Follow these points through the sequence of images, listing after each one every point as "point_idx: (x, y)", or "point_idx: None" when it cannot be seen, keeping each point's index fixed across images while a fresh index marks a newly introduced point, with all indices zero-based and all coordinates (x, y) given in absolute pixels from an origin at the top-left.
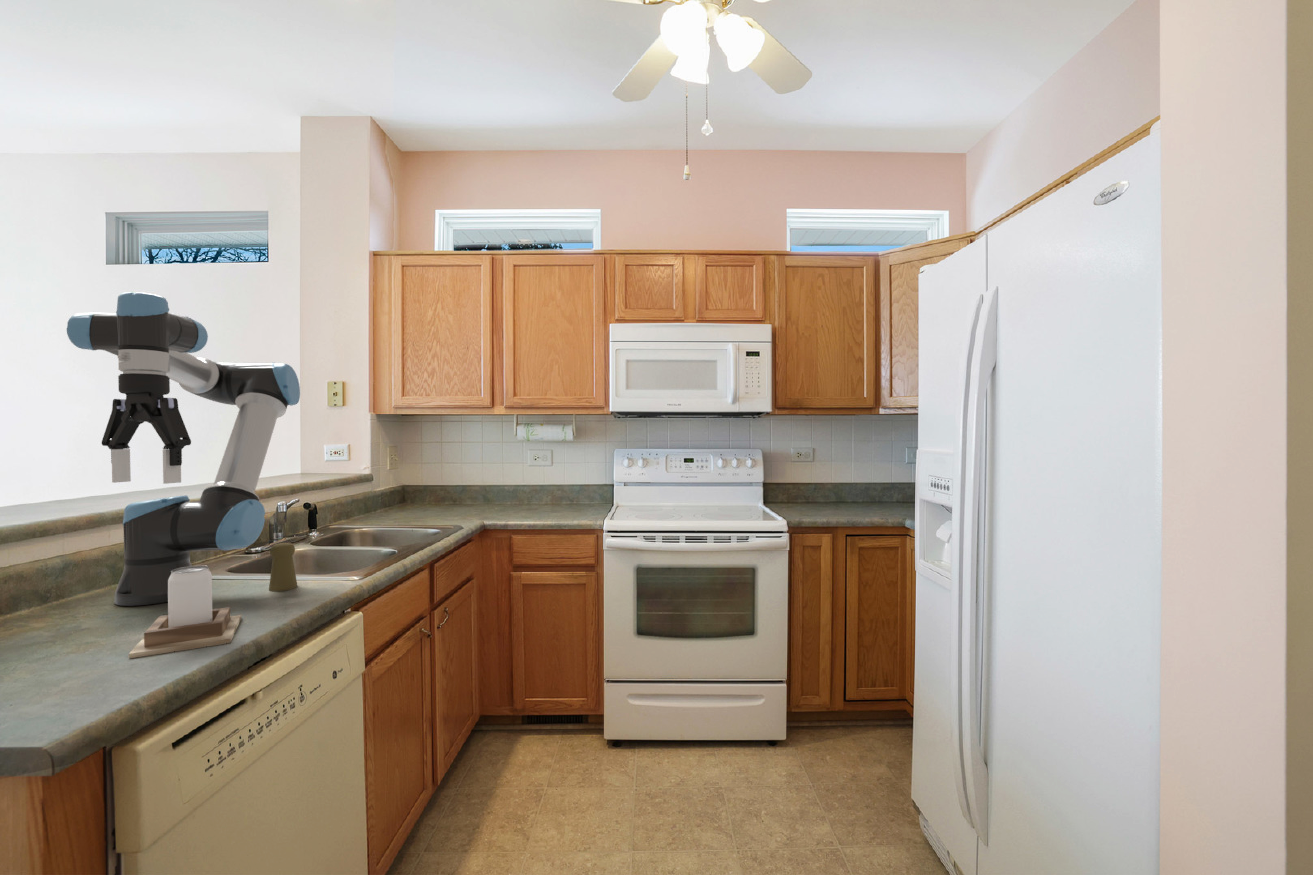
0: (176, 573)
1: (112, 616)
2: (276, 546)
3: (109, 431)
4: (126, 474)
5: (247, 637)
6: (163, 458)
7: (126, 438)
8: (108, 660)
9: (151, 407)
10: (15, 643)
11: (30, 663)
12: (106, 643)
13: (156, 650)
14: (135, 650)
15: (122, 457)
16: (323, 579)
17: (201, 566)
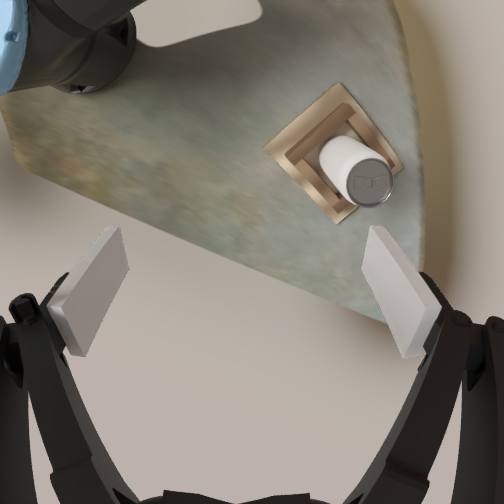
0: (369, 206)
1: (131, 122)
2: None
3: (26, 416)
4: (112, 251)
5: (406, 146)
6: (393, 329)
7: (65, 374)
8: (318, 230)
9: None
10: (148, 221)
11: (244, 253)
12: (255, 194)
13: (353, 208)
14: (334, 216)
15: (87, 306)
16: None
17: (368, 159)
